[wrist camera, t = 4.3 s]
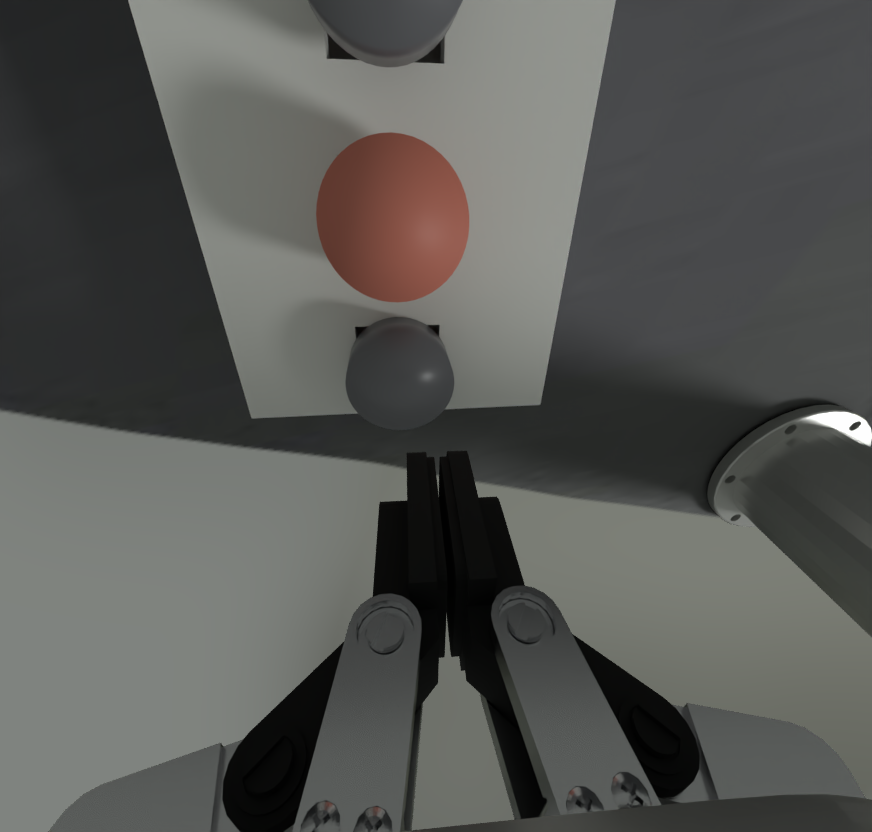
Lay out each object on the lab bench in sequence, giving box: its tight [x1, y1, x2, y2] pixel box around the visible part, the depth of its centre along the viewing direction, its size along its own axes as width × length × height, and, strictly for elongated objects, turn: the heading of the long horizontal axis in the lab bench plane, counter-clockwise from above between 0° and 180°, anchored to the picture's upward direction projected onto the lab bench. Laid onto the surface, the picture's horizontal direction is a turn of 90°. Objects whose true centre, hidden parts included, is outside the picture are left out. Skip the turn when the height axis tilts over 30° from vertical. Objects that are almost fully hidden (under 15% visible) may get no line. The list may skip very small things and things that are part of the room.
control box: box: [128, 0, 616, 418], centre depth 17 cm, size 14×17×6 cm
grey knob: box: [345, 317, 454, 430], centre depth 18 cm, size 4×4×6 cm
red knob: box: [316, 132, 469, 302], centre depth 13 cm, size 4×4×6 cm
